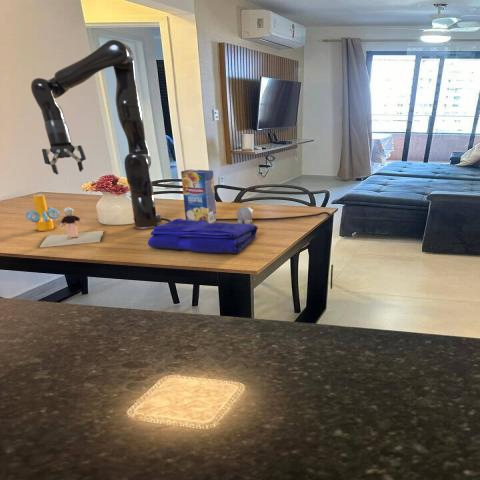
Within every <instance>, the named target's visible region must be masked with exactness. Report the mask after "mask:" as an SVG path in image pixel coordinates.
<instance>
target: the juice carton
mask: <svg viewBox="0 0 480 480" xmlns="http://www.w3.org/2000/svg"><path fill="white" fill-rule="evenodd" d="M180 175H181V185H182V197H183V205H184V215H185V220H195V221H205V222H207V223H216V222H217V221H216V219H217V205H216V193H215V192H216V191H215V178H214V170H210V169H209V170H208V169H195V168H194V169H191V168H190V169H185V170H182V171H180Z"/></svg>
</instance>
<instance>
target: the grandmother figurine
mask: <svg viewBox="0 0 480 480" xmlns="http://www.w3.org/2000/svg"><path fill="white" fill-rule="evenodd" d="M74 212H75V210H74V208H72V207H70V206H67V207H65V208H64V209H63V214H65V216H63V218H62V219H61V221H60V224H59V227H60V228H63V227H64V225H65V232H66V233H65V234H67V240H69V239H72V237H73V238H79V236H78V233H79V232H78V226H77V222H78V223H79V224H82V223H83V220H81V217H79V216H77V215H74Z"/></svg>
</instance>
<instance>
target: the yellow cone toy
mask: <svg viewBox="0 0 480 480" xmlns="http://www.w3.org/2000/svg"><path fill="white" fill-rule="evenodd" d="M32 199H33V205H34V208H35V211H34V210H27V211H26V212H25V213H24V214H25V218H26V219H27V220H29V221H30V222H32V223H35V225H36V230H37V231H39V232H47V231H51V230H53V229H55V226H54V225H55V224H54V220H56V219H58V218H59V217H60V212H59V210H57V209H54V207H48V205H47V201H46V196H45V194H44V193H43V194H42V193H37V194H33V195H32ZM51 212H52V214H51ZM33 215H34V217H33ZM53 219H54V220H53Z"/></svg>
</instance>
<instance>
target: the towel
mask: <svg viewBox="0 0 480 480" xmlns="http://www.w3.org/2000/svg"><path fill="white" fill-rule="evenodd" d="M258 227H259V226H257V225H255V224H252V223H251V224H239V223H237V222H235V223H234V222H233V223H232V222H222V221H221V222H220V221H218V222H217V221H215V222H213V223H207V222H205V221H195V220H186V218H185V219H183V218H175V219H173V220H171V221H170V222H168V221H167V222H166V223H163V224H159V225H158V226H157V227H154V228H152V231H150V235H151V237H150V238H149V239H148V240H147V245H148V246H149V247H150V248H152V249H153V248H154V249H164V250H175V251H188V252H192V253H201V254H203V253H204V254H206V253H207V254H231V255H237V254H239V253H240V252H241V251H242V250H243V249H244V248H245V247H247V246H248V245H249V244H250V243H252V242H253V241H254V239H255V238H256V236H257V233H258Z"/></svg>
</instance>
